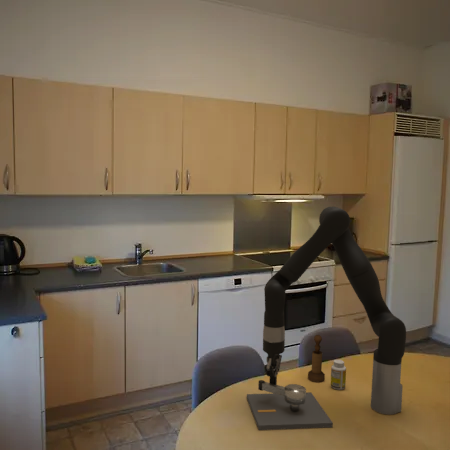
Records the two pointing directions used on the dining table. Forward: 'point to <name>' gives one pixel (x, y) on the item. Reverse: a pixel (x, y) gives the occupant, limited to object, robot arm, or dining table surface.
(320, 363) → the wooden pepper mill
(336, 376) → the supplement bottle
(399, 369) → the robot arm
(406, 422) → the dining table surface
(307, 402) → the plate
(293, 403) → the lever handle
